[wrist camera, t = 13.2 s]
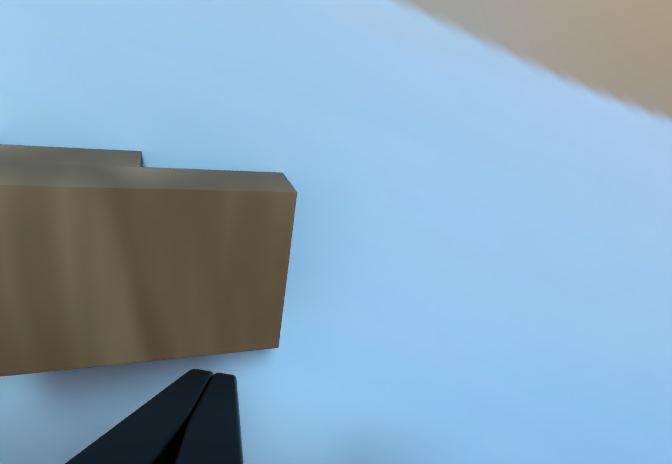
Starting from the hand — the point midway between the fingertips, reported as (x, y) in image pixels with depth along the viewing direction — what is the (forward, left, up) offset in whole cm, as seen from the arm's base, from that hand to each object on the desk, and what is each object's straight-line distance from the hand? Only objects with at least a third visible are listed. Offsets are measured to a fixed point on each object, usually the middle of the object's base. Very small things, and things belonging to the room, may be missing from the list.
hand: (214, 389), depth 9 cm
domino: (0, 0, -5) cm, 5 cm away
